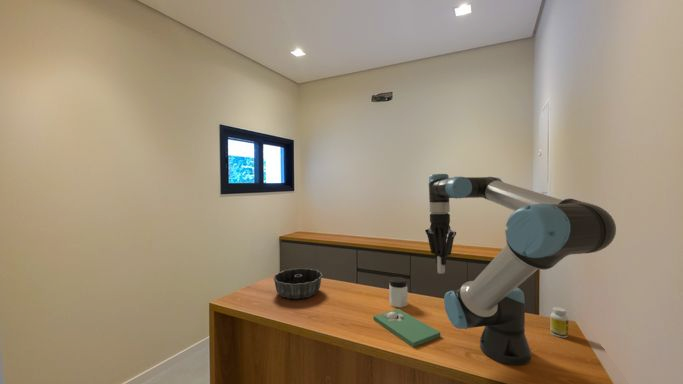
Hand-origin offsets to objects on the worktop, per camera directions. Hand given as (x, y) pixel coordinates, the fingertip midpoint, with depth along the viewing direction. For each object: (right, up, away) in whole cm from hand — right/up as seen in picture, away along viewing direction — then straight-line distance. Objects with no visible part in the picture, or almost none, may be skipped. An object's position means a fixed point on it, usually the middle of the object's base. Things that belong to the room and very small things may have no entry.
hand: (441, 272), depth 110 cm
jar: (-12, -23, +26) cm, 37 cm away
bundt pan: (-63, -24, +42) cm, 79 cm away
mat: (-14, -23, +3) cm, 27 cm away
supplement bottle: (+44, -23, -3) cm, 50 cm away
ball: (-18, -21, +9) cm, 29 cm away
